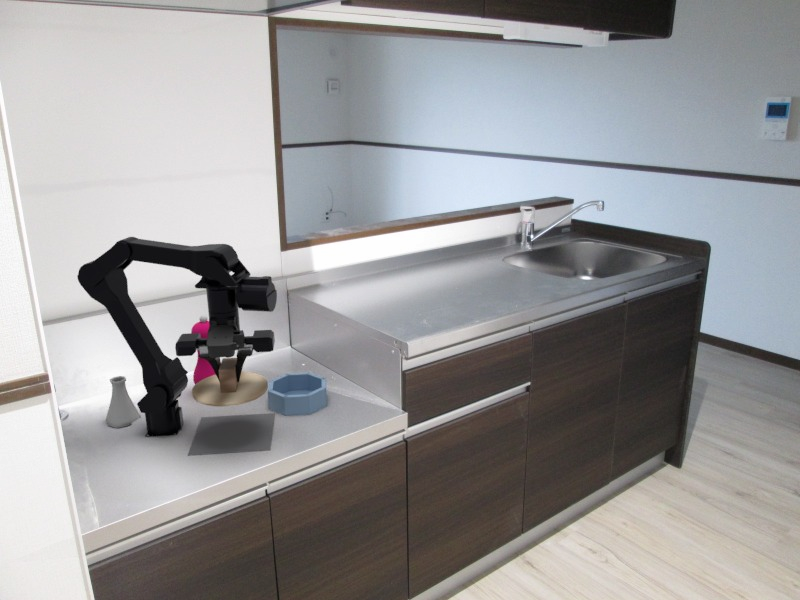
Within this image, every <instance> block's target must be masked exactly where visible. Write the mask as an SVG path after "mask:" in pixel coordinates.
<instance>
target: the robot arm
mask: <svg viewBox="0 0 800 600" xmlns="http://www.w3.org/2000/svg"><path fill="white" fill-rule="evenodd" d="M134 261H135V262H142V263H146V264H147V263H149V264H155V265H160V266H161V265H162V266H169V267H176V268H182V269H186V270H189V271H190V272H192V273H193V274H194V275H196V276H200V277H201V278H200V280H199V281H198V282H197V283H196V284H194V287H195V289H205V290H206V300H207V310H208V321H209V330H208V338H201V335H200V333H190V332H189V333H182V334H181V335H180V336H179V338H178V339H177V340H176V342H175V354H176V356H177V357H175V358H174V359H172V358H170V357H168V356H167V355H166V354H164V352H163V350H162V348H161V347H160V345H159V344H158V342H157V341H156V338H155V337H154V336H153V333H152V332H151V330H150V328H149V327H148V326H147V323H146V322H145V320H144V318H143V317H142V316H141V313H140V312H139V310H138V309H137V307H136V306H135V305H136V304H135V303H134V302H133V300H132V299H131V297H130V295H129V288H128V278H127V275H126V273H125V269H126V268H128V267H129V266H130V265H131V264H132V263H133V262H134ZM231 272H232V273H233V274H231ZM272 280H273V279H272V276H268V275H266V276H265V275H264V276H251V272H250V271H249V270H248V269H247V267H246V266H245V265H244V264H243V262H242V261H241V260H240V259H239V256H238V254H237V251H236V250H235V249H234V247H233V246H231V245H230V244H227V243H213V244H212V243H211V244H209V243H208V244H203V245H186V244H185V245H184V244H178V243H171V242H164V241H156V240H150V239H142V238H139V237H138V238H137V237H135V236H128V237H125V238H123V239H120V240H118V241H116V243H114V245H113V246H111V247H110V248H109V249H108V250H107V251H105V252H104V253H102V254H101V255H100V256H98V257H97V258H96V259H95V260H92V261H89V262H87V263H84V264H83V265H81V266H80V268H79V270H78V273H77V281H78V283H79V285H80V286H81V287H82V288H83V290H84V291H85V292H86V293H87V295H89V297H90V298H92V299H93V300H94V301H96V302H98V303H99V304H101V305H103V306H104V307H105V309H106V310H107V313H109V315H110V318H111V319H112V321H113V322H114V324H115V325H116V327H117V328H118V330H119V332H120V333H121V335H122V337H123V338H124V340H125V342H126V343H127V345H128V347H129V349H130V350H131V351H132V353H133V355H134V357H135V358H136V360H137V361H138V363H139V364H140V366H141V369H142V384H143V386H144V388H145V390H146V394H145V395H144V396H143V397H142V398H141V399H140V400H139V401H138V402H137V403H136V405H137V408H139V409H138V410H139V411H140V413H142V414H143V413H144V416H145V423H146V433H145V438H152V437H167V436H170V437H171V436H177V435H178V434H179V432H180V430H182V428H183V425H184V417H183V416H184V415H183V409H182V406H180V405H179V400H178V399H179V398H180V397H181V396H182V394H183V392H184V391H185V389H186V388H187V386H188V382H189V378H188V375H187V374H188V373H189V372H188V371H187V370H186V369H185V368H184V366H183V365H182V361H181V359H180V358H179V357H187V356H188V357H191V356H194V354H195V353H196V352H197V350H196V348H199V350H200V354H199V358H201V359H202V358H203V359H206V360H207V361H208V362H209V363H210V365H211V366H212V368H213V370H214V372H215V374H216V376H217V378H218V380H219V367H220V365H221V362H222V360H221V358H233V356H234V357H235V353H236V352H235V351H237V353H236V358H237V371H236V377H237V382H239V380H240V376H241V372H243V367H244V365H245V363H246V362H245V361H246V359H247V358H248V357H251V356H253V352H256V353H271V352H273V351H274V347H275V343H276V339H275V332H274V331H273V330H272V329H260V330H259V329H257V330H254V331H253V335H251V336H250V335H248V336H246V335H245V332H244V330H243V329H242V330H241V327H240V326H241V325H240V314H239V313H240V312H239V309H241V310H242V311H244V312H266V313H267V312H269V313H272V312H273V311H274V310H275V308H276V305H277V301H278V300H277V298H278V293H277V292H278V291H277V289H276V287H275V283H274V282H272ZM219 382H220V380H219Z"/></svg>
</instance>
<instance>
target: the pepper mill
mask: <svg viewBox="0 0 800 600" xmlns="http://www.w3.org/2000/svg"><path fill="white" fill-rule="evenodd" d="M208 330H209V320H208V316H207V315H205V314H202V315H200V317H199V321H198V322H196V323H194V324H193V325H192V328H191V333H200V335H201V338H208ZM196 352H197V361H196V364H195V368H194V370H193V371H194V372H193V377H192V378H193V379H192V380H193V384H194V385H195V384H197V383H198V382H199V381H201V380H203V379H205V378H207V377H210V376H213V375H216V374H215V372H214V370H213V368H212V366H211V365H210V363H209V362H208V361H207V360H206V359H203V358H202V359H201V358H199V354H200V350H199V348H196Z"/></svg>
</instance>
